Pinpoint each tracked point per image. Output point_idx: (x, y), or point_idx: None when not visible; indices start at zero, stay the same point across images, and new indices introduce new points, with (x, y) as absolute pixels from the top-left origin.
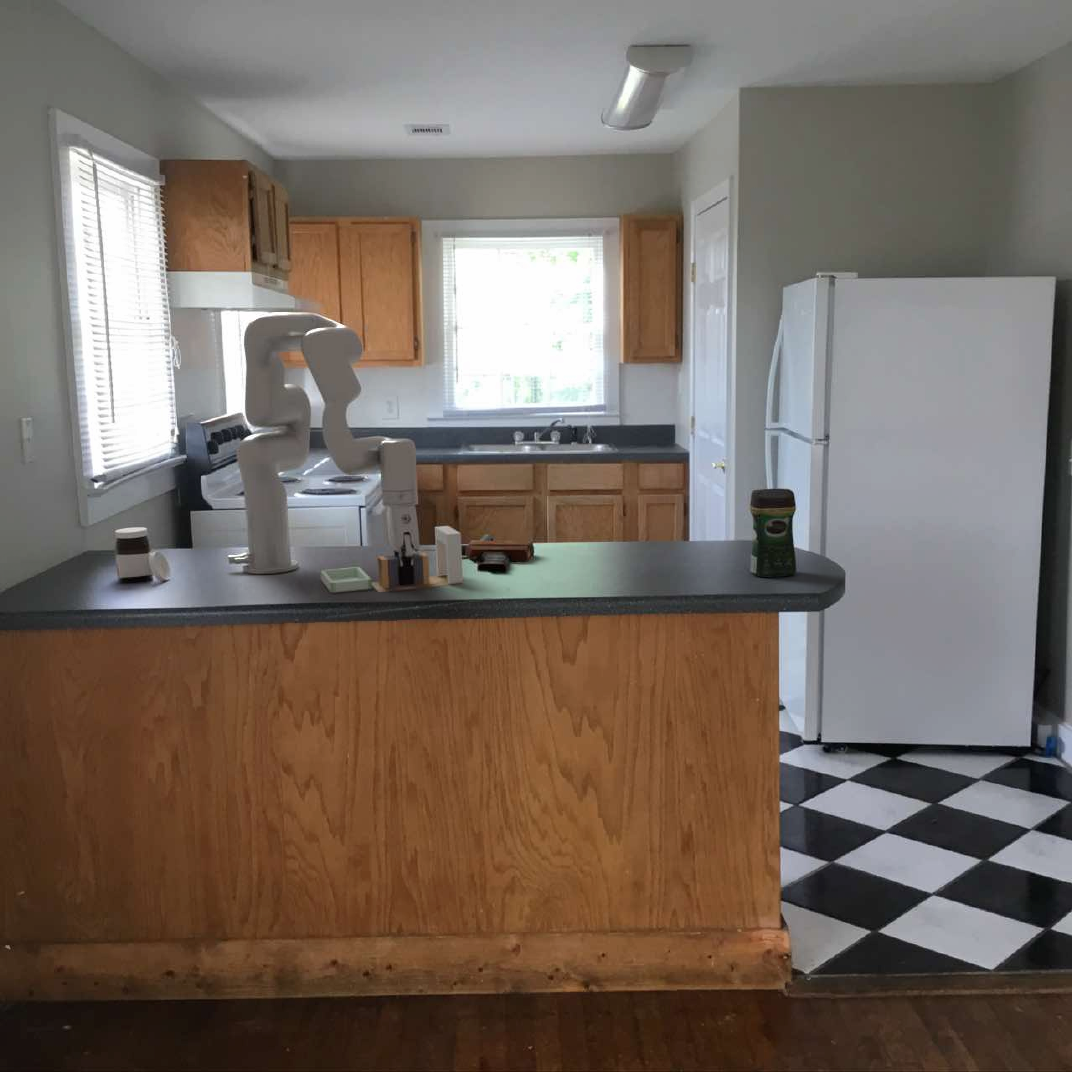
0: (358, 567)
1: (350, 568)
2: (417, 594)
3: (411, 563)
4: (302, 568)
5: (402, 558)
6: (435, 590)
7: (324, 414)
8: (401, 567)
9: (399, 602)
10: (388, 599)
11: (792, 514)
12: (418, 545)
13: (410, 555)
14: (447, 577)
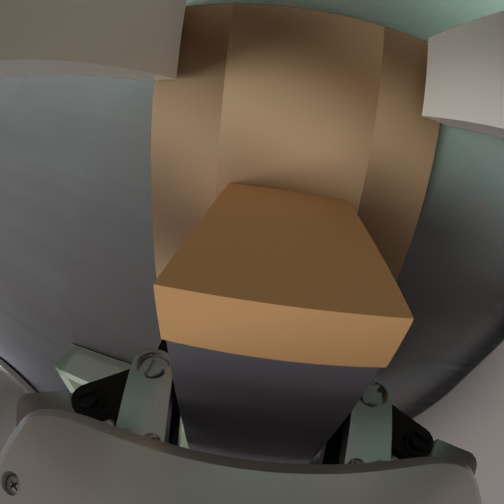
0: (64, 372)
1: (73, 387)
2: (442, 303)
3: (384, 402)
4: (7, 359)
5: (317, 450)
6: (445, 213)
7: None
8: None
9: (464, 366)
10: (415, 383)
11: None
12: (479, 495)
13: (465, 463)
14: (437, 118)
